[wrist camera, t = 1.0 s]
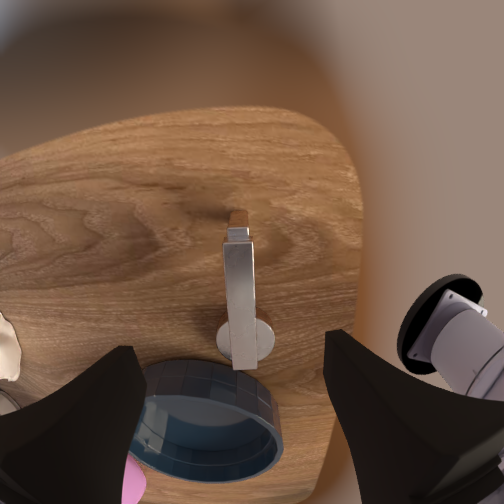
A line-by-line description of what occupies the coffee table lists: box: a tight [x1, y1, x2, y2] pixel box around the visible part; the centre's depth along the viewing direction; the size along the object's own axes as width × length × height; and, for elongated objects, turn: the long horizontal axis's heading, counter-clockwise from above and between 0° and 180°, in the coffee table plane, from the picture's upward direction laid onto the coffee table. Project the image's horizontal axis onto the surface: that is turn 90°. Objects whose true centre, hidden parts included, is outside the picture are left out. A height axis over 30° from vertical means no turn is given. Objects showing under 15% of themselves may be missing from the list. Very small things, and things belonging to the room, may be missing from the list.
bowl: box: [128, 359, 284, 483], centre depth 20 cm, size 14×14×4 cm
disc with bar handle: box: [216, 210, 275, 370], centre depth 16 cm, size 10×4×6 cm, turn 2°
